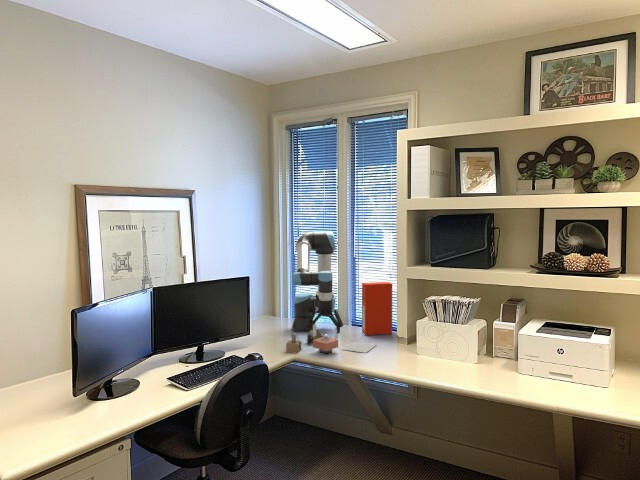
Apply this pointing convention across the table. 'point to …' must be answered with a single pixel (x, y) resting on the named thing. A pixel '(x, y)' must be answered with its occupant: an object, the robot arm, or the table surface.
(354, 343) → the paper stack
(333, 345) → the salmon square frame
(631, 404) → the table surface
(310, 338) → the fossil
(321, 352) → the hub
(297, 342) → the stand
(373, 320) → the file binder
